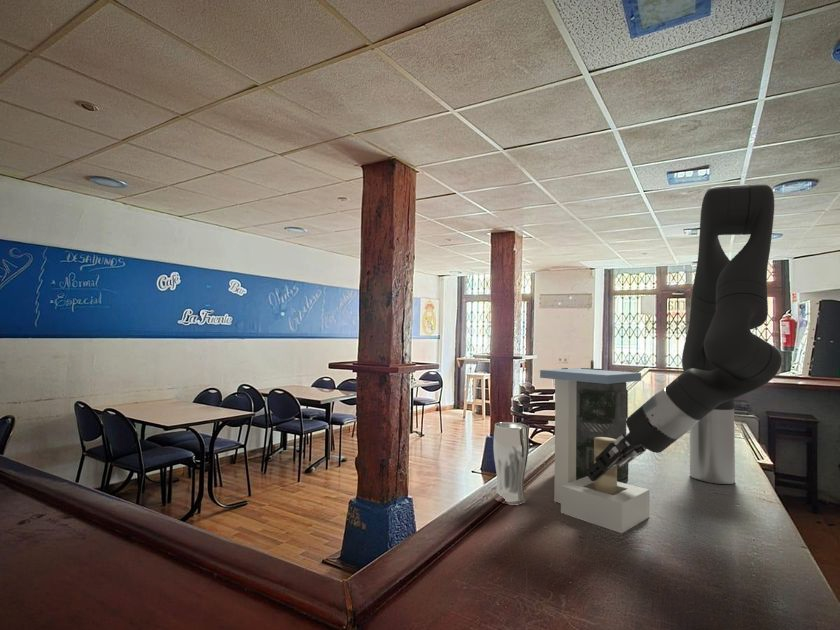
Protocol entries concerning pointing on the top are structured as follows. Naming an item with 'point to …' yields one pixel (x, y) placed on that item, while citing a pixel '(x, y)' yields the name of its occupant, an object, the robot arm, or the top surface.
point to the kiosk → (568, 491)
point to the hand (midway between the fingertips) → (595, 474)
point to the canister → (599, 420)
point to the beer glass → (511, 460)
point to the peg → (609, 478)
